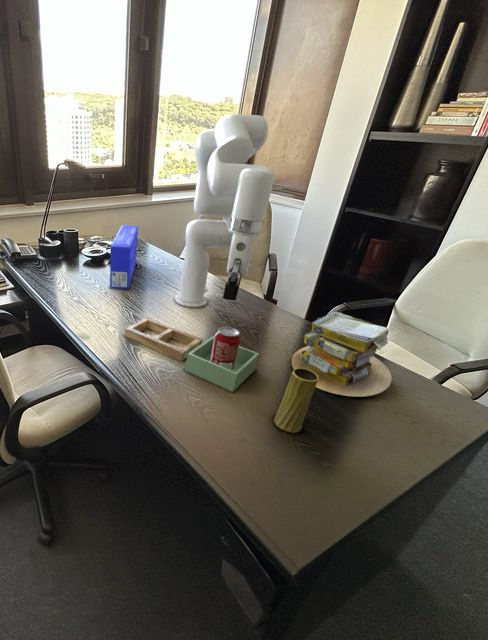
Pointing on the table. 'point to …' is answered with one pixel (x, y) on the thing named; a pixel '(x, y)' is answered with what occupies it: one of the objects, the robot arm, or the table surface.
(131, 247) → the blue box
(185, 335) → the caddy
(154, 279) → the table surface
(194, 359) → the bin
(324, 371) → the stacked boxes on plate
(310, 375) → the vase
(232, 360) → the soda can
